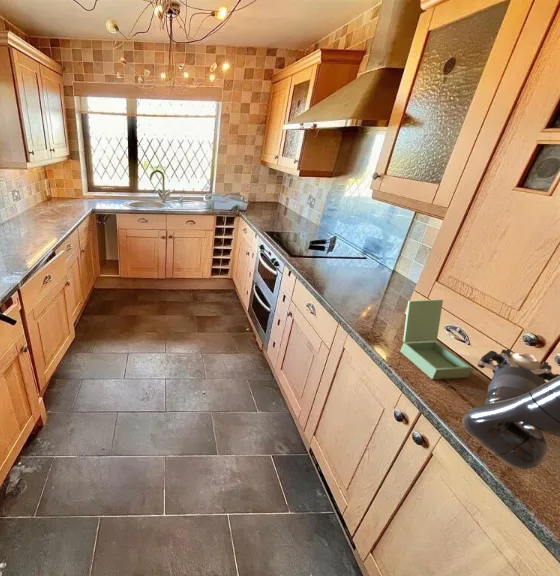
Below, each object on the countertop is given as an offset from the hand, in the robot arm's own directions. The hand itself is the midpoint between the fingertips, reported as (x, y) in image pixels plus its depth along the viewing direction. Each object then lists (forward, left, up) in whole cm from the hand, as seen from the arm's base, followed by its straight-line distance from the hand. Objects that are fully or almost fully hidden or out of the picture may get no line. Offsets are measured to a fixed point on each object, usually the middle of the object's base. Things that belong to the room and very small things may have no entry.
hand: (525, 358), depth 74 cm
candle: (+1, +2, -8) cm, 9 cm away
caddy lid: (+14, -23, -7) cm, 28 cm away
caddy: (+10, -16, -18) cm, 26 cm away
